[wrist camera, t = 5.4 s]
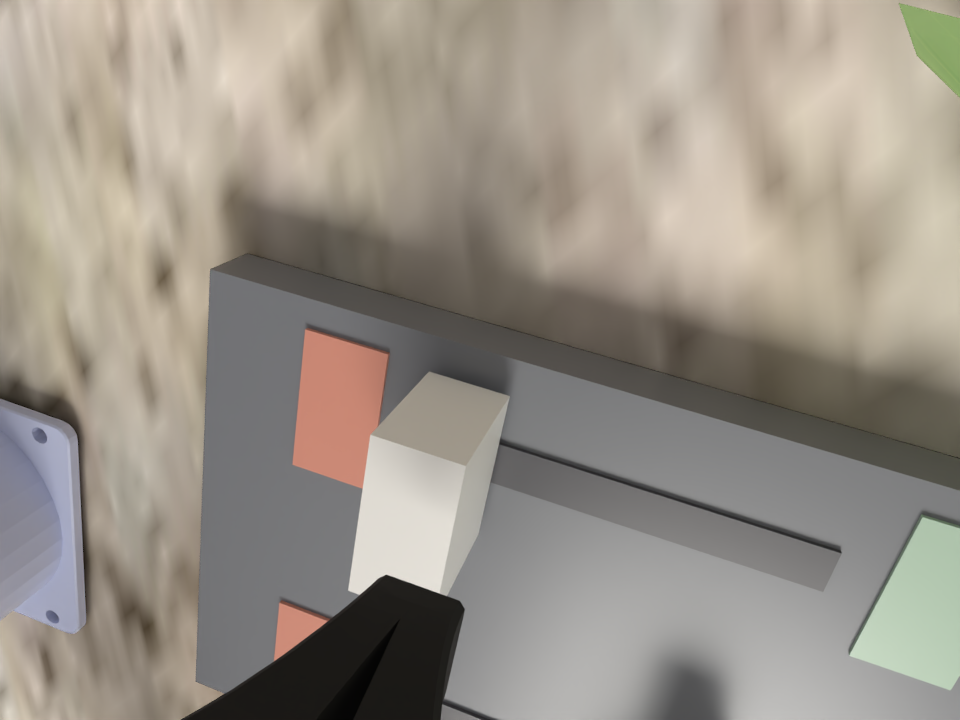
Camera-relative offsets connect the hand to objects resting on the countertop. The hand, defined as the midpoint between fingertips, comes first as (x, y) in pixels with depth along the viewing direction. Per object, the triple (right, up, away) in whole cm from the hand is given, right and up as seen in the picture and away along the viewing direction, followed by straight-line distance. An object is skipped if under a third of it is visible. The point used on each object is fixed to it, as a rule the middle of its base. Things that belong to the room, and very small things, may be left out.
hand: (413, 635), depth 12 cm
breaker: (0, +2, +5) cm, 5 cm away
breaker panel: (+4, -2, +7) cm, 8 cm away
